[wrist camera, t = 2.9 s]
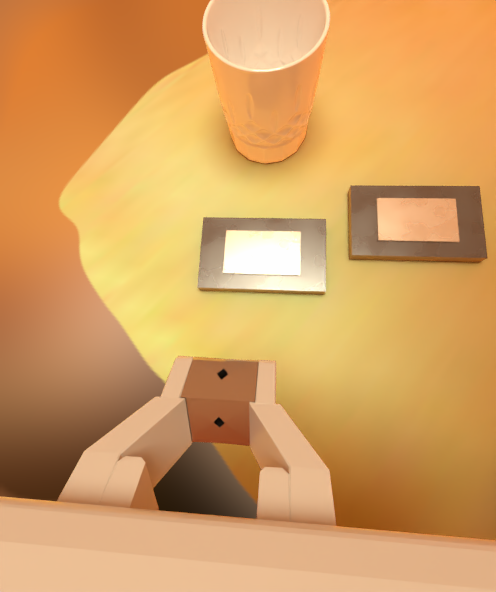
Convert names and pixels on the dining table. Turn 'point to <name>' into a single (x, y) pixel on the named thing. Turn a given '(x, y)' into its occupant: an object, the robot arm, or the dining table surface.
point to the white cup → (266, 70)
